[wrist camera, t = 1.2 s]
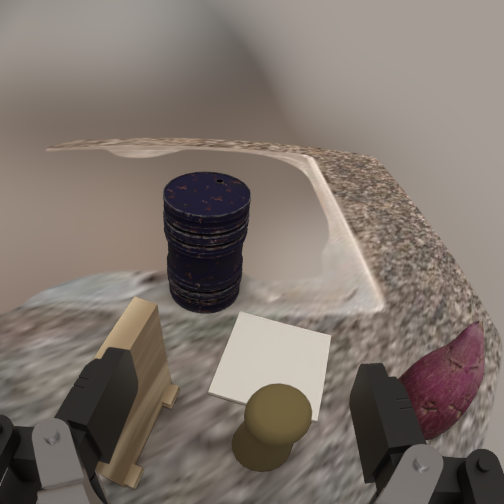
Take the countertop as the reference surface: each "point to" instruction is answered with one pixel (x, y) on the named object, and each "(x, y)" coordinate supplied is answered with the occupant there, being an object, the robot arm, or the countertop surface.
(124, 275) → the countertop surface
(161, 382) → the maple board
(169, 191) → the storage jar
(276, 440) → the cork
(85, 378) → the robot arm
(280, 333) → the coaster
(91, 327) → the countertop surface
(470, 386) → the vegetable
